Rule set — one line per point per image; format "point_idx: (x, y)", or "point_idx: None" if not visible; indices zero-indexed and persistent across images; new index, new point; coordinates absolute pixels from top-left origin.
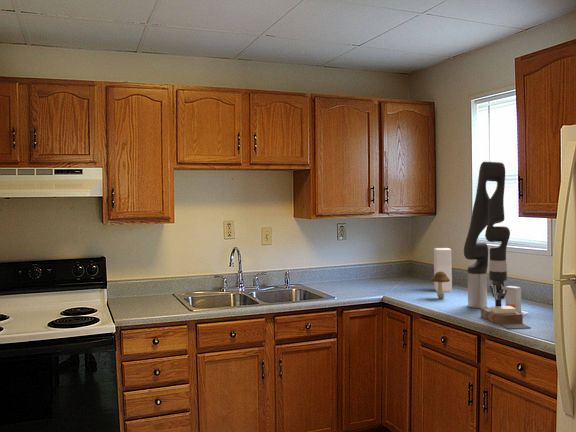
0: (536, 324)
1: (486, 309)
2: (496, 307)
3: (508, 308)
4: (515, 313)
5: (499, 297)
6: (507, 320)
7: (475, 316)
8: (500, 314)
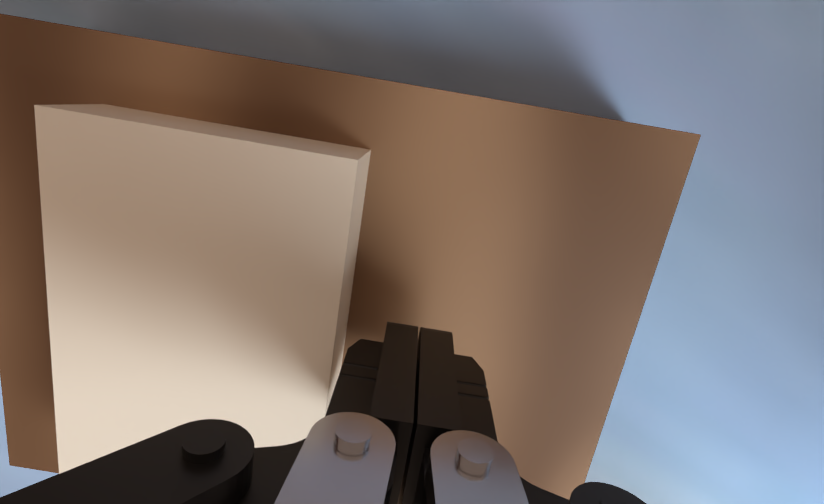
0: (33, 479)
1: (523, 156)
2: (229, 230)
3: (85, 388)
4: None
5: (104, 461)
6: None
7: (675, 41)
8: (34, 142)
